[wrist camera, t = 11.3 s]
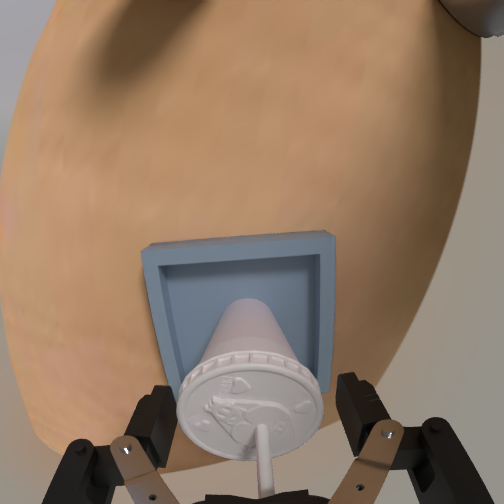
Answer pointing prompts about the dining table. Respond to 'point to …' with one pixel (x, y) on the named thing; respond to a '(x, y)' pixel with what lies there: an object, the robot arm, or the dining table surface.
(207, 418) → the smoothie
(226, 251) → the tray
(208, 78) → the dining table surface
